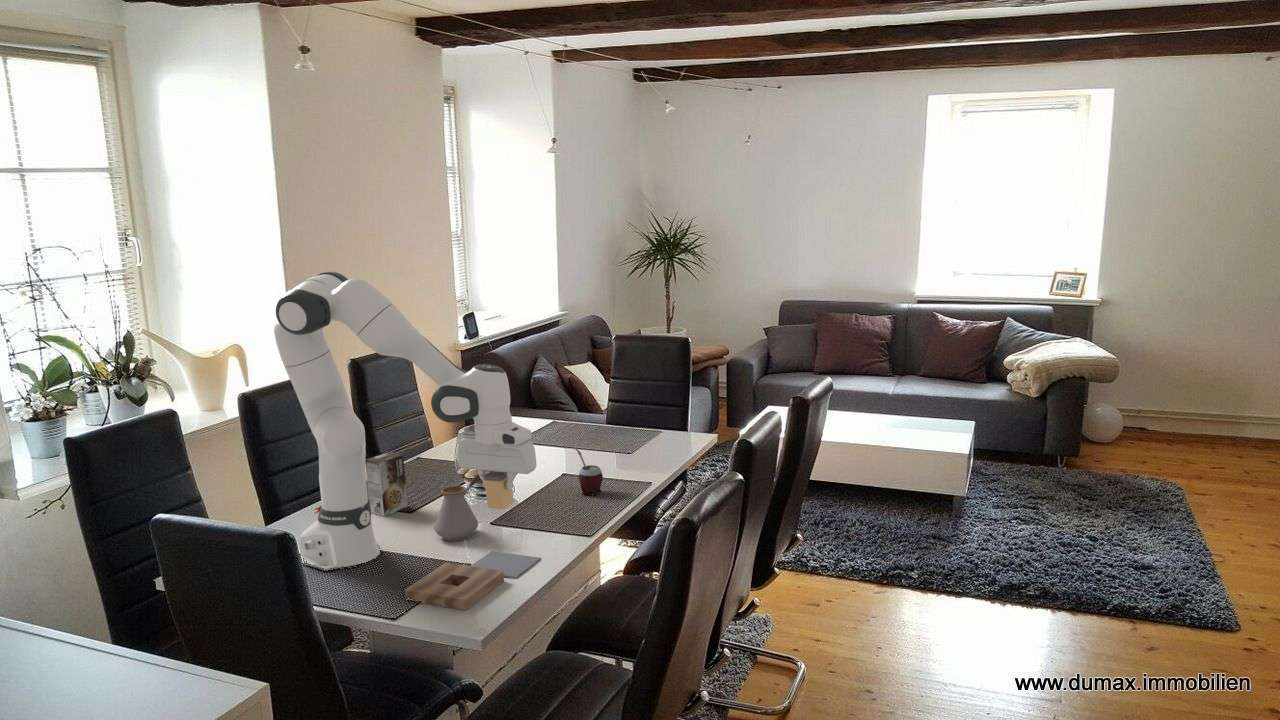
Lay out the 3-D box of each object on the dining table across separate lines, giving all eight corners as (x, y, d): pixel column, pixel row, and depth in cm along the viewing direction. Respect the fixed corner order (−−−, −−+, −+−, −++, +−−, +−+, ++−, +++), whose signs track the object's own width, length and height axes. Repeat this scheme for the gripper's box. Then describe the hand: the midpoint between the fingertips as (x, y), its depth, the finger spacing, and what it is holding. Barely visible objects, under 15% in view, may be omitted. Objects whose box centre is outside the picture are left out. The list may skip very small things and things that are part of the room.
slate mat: (465, 571, 223) (465, 569, 223) (492, 552, 234) (492, 550, 234) (515, 578, 217) (515, 577, 217) (540, 559, 228) (540, 557, 228)
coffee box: (394, 503, 274) (389, 450, 270) (409, 507, 270) (404, 453, 267) (369, 513, 266) (364, 459, 263) (384, 516, 263) (378, 462, 260)
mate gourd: (607, 494, 274) (605, 445, 272) (584, 499, 270) (581, 450, 268) (595, 487, 281) (593, 440, 278) (572, 493, 277) (569, 444, 274)
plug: (487, 507, 222) (483, 476, 220) (497, 500, 226) (493, 469, 224) (503, 509, 220) (499, 477, 218) (513, 501, 224) (509, 470, 222)
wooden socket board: (405, 600, 208) (404, 589, 208) (446, 572, 223) (445, 562, 222) (465, 610, 202) (464, 599, 202) (504, 581, 216) (503, 570, 216)
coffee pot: (461, 546, 239) (456, 490, 236) (425, 540, 244) (421, 485, 241) (508, 518, 257) (505, 467, 254) (475, 513, 262) (471, 462, 260)
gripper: (449, 432, 221) (454, 488, 223) (524, 438, 212) (528, 496, 215) (464, 426, 226) (469, 480, 229) (537, 431, 218) (541, 487, 221)
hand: (498, 487), depth 222 cm, fingers closed on plug, 4 cm apart
